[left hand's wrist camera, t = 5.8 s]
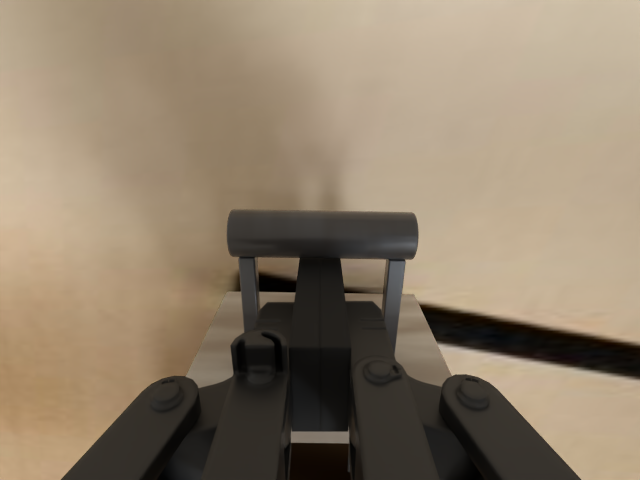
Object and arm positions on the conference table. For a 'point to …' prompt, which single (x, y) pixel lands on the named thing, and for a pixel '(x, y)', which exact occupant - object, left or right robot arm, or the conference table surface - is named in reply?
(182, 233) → the conference table surface
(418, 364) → the drawer
